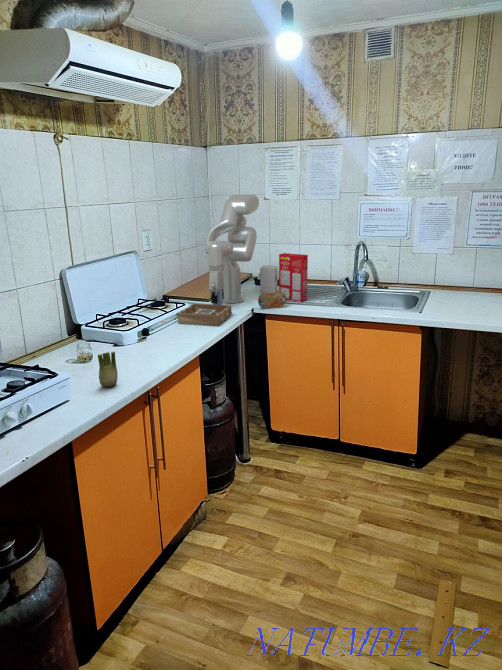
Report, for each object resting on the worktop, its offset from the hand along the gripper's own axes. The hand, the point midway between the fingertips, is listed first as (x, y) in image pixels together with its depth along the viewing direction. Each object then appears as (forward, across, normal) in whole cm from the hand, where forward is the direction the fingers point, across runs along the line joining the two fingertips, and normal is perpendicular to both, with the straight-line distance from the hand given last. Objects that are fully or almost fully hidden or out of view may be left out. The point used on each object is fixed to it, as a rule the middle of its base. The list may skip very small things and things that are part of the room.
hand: (217, 301), depth 266 cm
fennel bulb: (+6, +103, -2) cm, 103 cm away
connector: (+5, 0, 0) cm, 5 cm away
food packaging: (+5, -31, +33) cm, 46 cm away
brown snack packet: (+5, -11, +26) cm, 29 cm away
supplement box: (+5, -48, +15) cm, 51 cm away
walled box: (+5, +18, 0) cm, 19 cm away
